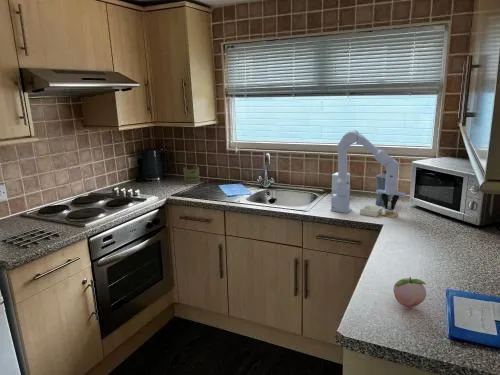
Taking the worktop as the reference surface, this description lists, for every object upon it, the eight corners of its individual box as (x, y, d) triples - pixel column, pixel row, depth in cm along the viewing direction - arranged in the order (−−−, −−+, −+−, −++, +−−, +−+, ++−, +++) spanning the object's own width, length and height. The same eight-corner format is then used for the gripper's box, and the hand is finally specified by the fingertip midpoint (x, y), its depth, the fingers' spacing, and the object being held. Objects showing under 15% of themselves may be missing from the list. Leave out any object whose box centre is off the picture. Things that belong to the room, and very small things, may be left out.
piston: (182, 167, 288) (197, 166, 292) (183, 183, 291) (198, 181, 295) (184, 170, 278) (200, 168, 281) (185, 186, 281) (201, 184, 284)
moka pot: (373, 207, 217) (375, 172, 212) (375, 200, 231) (377, 167, 226) (391, 208, 214) (393, 173, 209) (392, 201, 228) (394, 168, 223)
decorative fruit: (413, 298, 122) (416, 269, 120) (429, 312, 115) (432, 281, 112) (386, 301, 121) (388, 272, 119) (400, 315, 113) (402, 284, 111)
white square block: (350, 196, 241) (350, 173, 237) (345, 199, 234) (346, 175, 230) (336, 194, 246) (336, 171, 242) (331, 198, 238) (331, 174, 235)
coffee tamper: (383, 212, 202) (384, 200, 201) (386, 210, 206) (387, 198, 204) (392, 213, 200) (393, 201, 198) (395, 211, 203) (395, 199, 202)
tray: (359, 214, 206) (360, 208, 205) (365, 209, 213) (366, 204, 212) (376, 217, 201) (376, 211, 200) (382, 212, 208) (382, 207, 207)
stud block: (380, 215, 202) (380, 212, 202) (384, 212, 208) (384, 209, 208) (394, 218, 198) (394, 214, 198) (398, 214, 204) (398, 211, 203)
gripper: (374, 183, 200) (373, 208, 203) (403, 186, 192) (401, 212, 195) (379, 180, 206) (377, 205, 209) (407, 183, 197) (405, 209, 200)
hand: (389, 208), depth 202 cm, fingers closed on coffee tamper, 3 cm apart
